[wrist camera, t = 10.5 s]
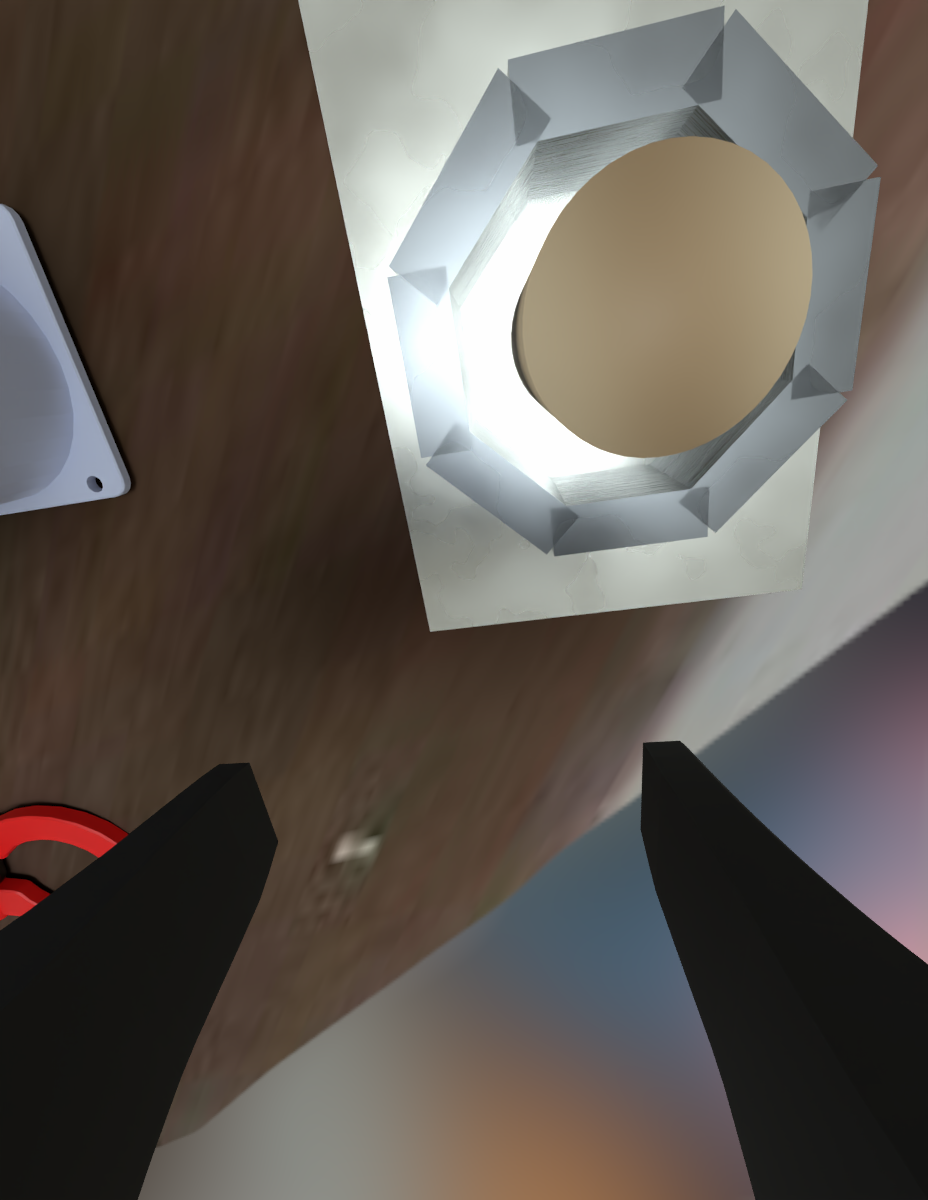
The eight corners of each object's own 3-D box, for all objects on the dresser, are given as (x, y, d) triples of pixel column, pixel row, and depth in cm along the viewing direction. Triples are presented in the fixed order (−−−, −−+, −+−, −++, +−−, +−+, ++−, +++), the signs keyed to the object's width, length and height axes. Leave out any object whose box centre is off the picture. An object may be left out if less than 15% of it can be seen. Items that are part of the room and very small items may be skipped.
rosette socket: (433, 618, 18) (414, 689, 14) (311, 20, 12) (216, -160, 8) (785, 577, 17) (876, 642, 13) (855, -127, 11) (1078, -441, 7)
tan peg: (528, 438, 15) (551, 483, 9) (494, 263, 13) (497, 194, 7) (685, 398, 14) (808, 422, 9) (672, 208, 12) (817, 87, 7)
